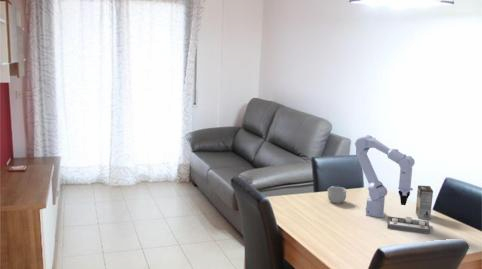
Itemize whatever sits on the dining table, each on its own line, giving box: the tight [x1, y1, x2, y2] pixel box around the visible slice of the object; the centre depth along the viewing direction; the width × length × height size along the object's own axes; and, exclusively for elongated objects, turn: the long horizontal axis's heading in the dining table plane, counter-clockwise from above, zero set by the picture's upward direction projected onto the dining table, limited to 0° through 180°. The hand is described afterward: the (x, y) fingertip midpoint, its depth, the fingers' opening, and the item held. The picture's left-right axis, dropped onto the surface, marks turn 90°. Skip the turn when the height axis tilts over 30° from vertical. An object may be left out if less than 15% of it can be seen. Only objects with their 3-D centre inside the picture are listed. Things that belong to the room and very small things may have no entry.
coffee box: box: [415, 185, 434, 220], centre depth 236 cm, size 9×6×16 cm
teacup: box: [327, 185, 347, 205], centre depth 259 cm, size 14×11×8 cm
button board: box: [387, 216, 431, 235], centre depth 222 cm, size 20×12×2 cm, turn 70°
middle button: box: [405, 216, 413, 223], centre depth 222 cm, size 3×3×2 cm
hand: (403, 204), depth 227 cm, fingers closed
